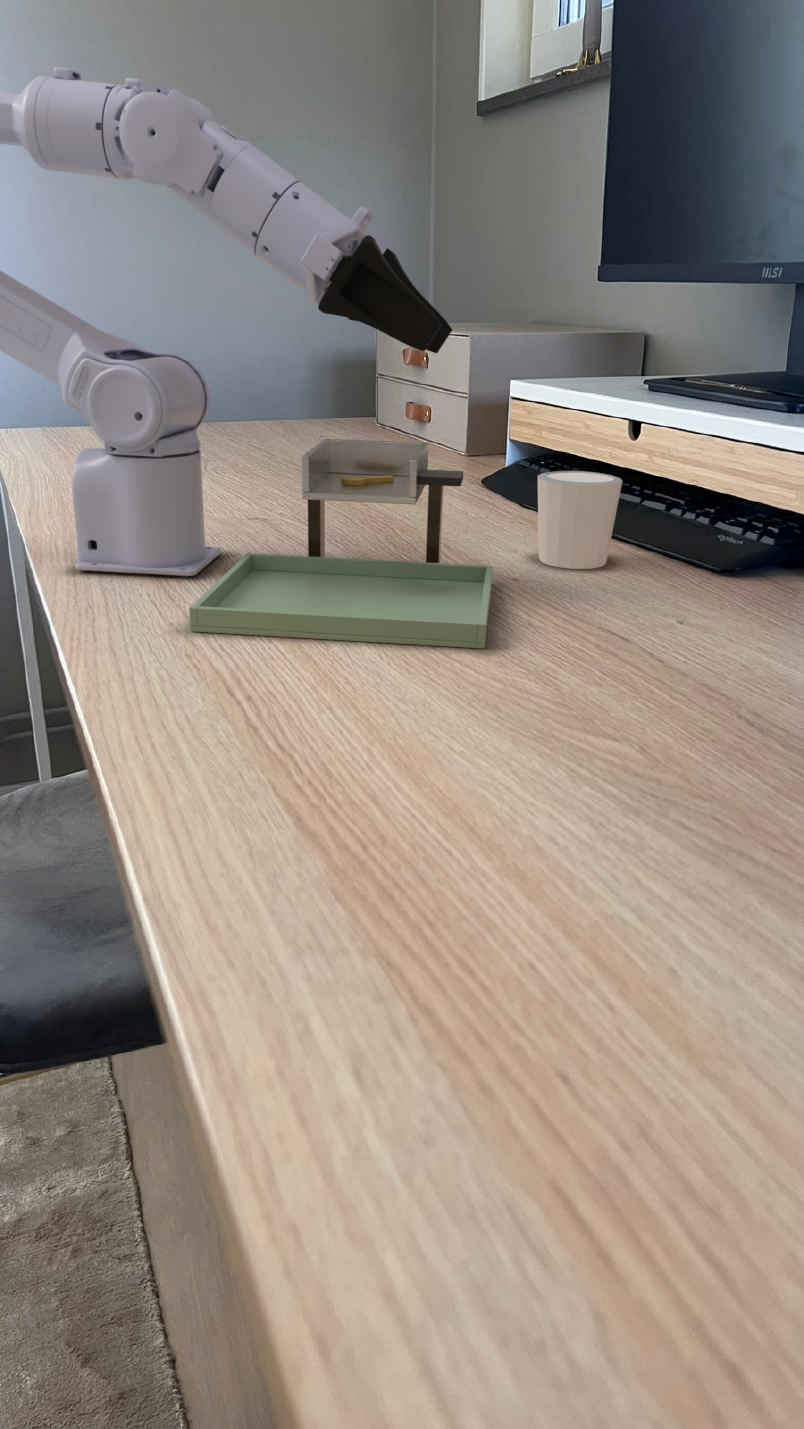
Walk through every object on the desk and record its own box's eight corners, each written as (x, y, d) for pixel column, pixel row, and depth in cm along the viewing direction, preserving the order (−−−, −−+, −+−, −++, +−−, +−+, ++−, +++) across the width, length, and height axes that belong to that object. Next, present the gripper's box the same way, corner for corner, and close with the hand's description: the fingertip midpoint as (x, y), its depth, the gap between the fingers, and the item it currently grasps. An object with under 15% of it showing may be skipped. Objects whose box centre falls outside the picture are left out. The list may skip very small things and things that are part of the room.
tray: (190, 631, 67) (189, 607, 66) (247, 573, 80) (246, 553, 80) (484, 648, 65) (486, 624, 64) (491, 586, 79) (492, 565, 78)
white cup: (613, 573, 83) (622, 486, 80) (527, 567, 84) (534, 480, 82) (614, 554, 89) (622, 472, 87) (534, 548, 91) (540, 467, 88)
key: (346, 486, 75) (346, 480, 75) (337, 481, 76) (337, 476, 76) (397, 483, 76) (397, 477, 76) (387, 479, 78) (387, 474, 78)
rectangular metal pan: (302, 499, 72) (301, 455, 71) (325, 477, 81) (325, 437, 80) (459, 506, 71) (461, 462, 70) (466, 483, 80) (468, 443, 79)
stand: (308, 568, 82) (307, 473, 79) (312, 562, 84) (312, 468, 81) (437, 575, 81) (441, 479, 79) (439, 568, 83) (443, 474, 80)
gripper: (284, 144, 63) (463, 280, 64) (332, 185, 77) (479, 296, 78) (225, 248, 65) (399, 378, 66) (282, 270, 79) (426, 377, 80)
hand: (438, 340), depth 72 cm, fingers open, 7 cm apart
